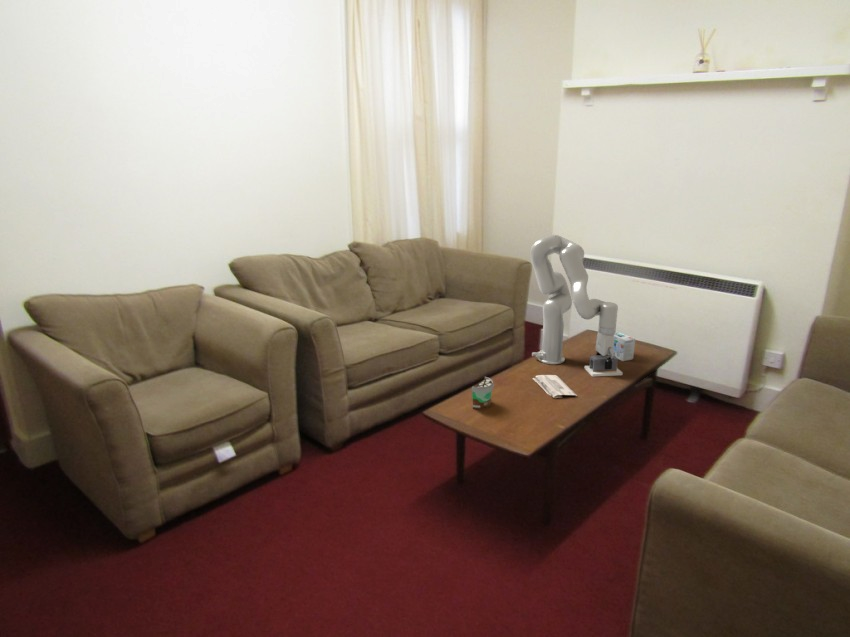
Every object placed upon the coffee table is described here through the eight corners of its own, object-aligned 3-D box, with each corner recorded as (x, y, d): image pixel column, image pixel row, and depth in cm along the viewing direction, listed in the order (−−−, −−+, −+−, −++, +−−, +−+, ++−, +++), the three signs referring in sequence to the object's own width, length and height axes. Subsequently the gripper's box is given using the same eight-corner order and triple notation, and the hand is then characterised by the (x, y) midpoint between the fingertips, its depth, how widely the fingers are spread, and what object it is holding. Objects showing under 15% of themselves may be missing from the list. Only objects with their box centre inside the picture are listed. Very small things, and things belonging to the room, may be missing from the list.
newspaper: (531, 379, 255) (532, 374, 254) (556, 380, 257) (557, 375, 256) (550, 401, 233) (551, 395, 232) (577, 401, 235) (578, 395, 235)
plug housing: (593, 371, 258) (594, 359, 256) (589, 367, 262) (590, 355, 260) (616, 370, 259) (617, 358, 257) (612, 366, 263) (613, 354, 261)
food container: (485, 413, 222) (485, 390, 219) (471, 409, 225) (471, 386, 222) (498, 401, 232) (499, 379, 229) (484, 398, 235) (485, 376, 232)
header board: (592, 376, 255) (593, 365, 254) (584, 368, 265) (585, 357, 263) (622, 375, 257) (623, 364, 255) (613, 366, 266) (614, 356, 265)
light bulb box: (607, 354, 282) (609, 333, 278) (618, 352, 284) (620, 332, 281) (623, 361, 272) (625, 340, 269) (633, 359, 275) (636, 338, 272)
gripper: (591, 324, 262) (588, 358, 268) (606, 336, 246) (603, 372, 251) (607, 323, 263) (603, 357, 268) (623, 335, 247) (619, 371, 252)
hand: (603, 364), depth 260 cm, fingers open, 9 cm apart
